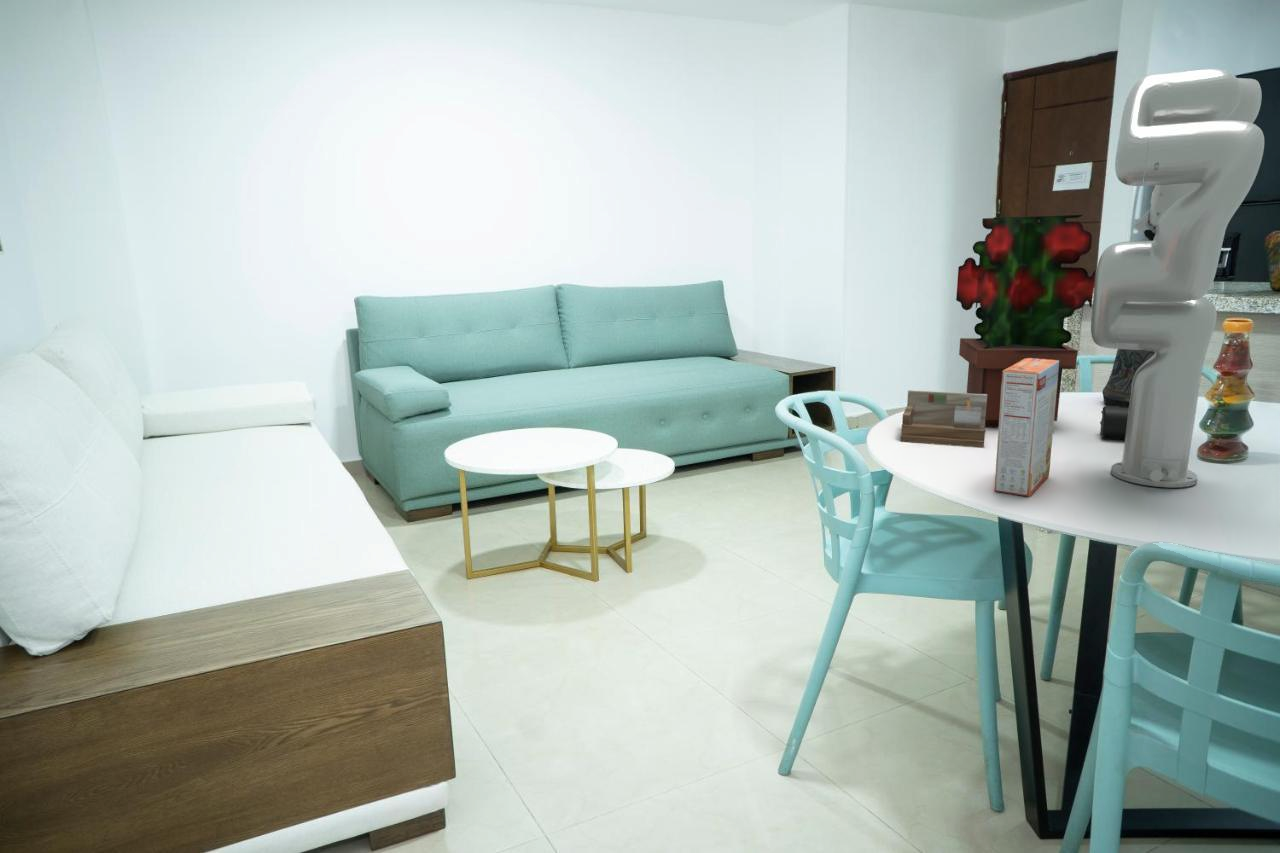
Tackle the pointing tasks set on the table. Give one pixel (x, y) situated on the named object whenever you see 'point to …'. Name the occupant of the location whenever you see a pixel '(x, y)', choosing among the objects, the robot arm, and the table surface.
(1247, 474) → the table surface
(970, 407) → the white block with knob
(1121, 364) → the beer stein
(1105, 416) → the end cap
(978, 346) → the potted plant
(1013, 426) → the cracker box
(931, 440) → the wooden toy tray
